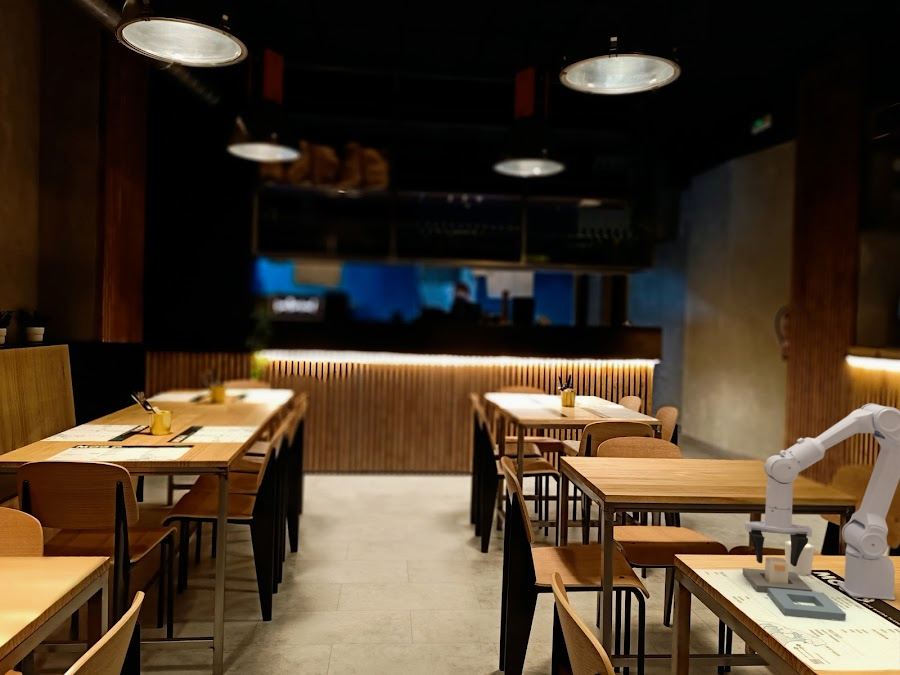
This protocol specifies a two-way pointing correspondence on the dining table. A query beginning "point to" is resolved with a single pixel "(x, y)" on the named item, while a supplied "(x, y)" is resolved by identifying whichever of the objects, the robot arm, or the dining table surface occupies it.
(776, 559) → the plug
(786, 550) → the cream tapered cup
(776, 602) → the socket
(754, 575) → the socket
